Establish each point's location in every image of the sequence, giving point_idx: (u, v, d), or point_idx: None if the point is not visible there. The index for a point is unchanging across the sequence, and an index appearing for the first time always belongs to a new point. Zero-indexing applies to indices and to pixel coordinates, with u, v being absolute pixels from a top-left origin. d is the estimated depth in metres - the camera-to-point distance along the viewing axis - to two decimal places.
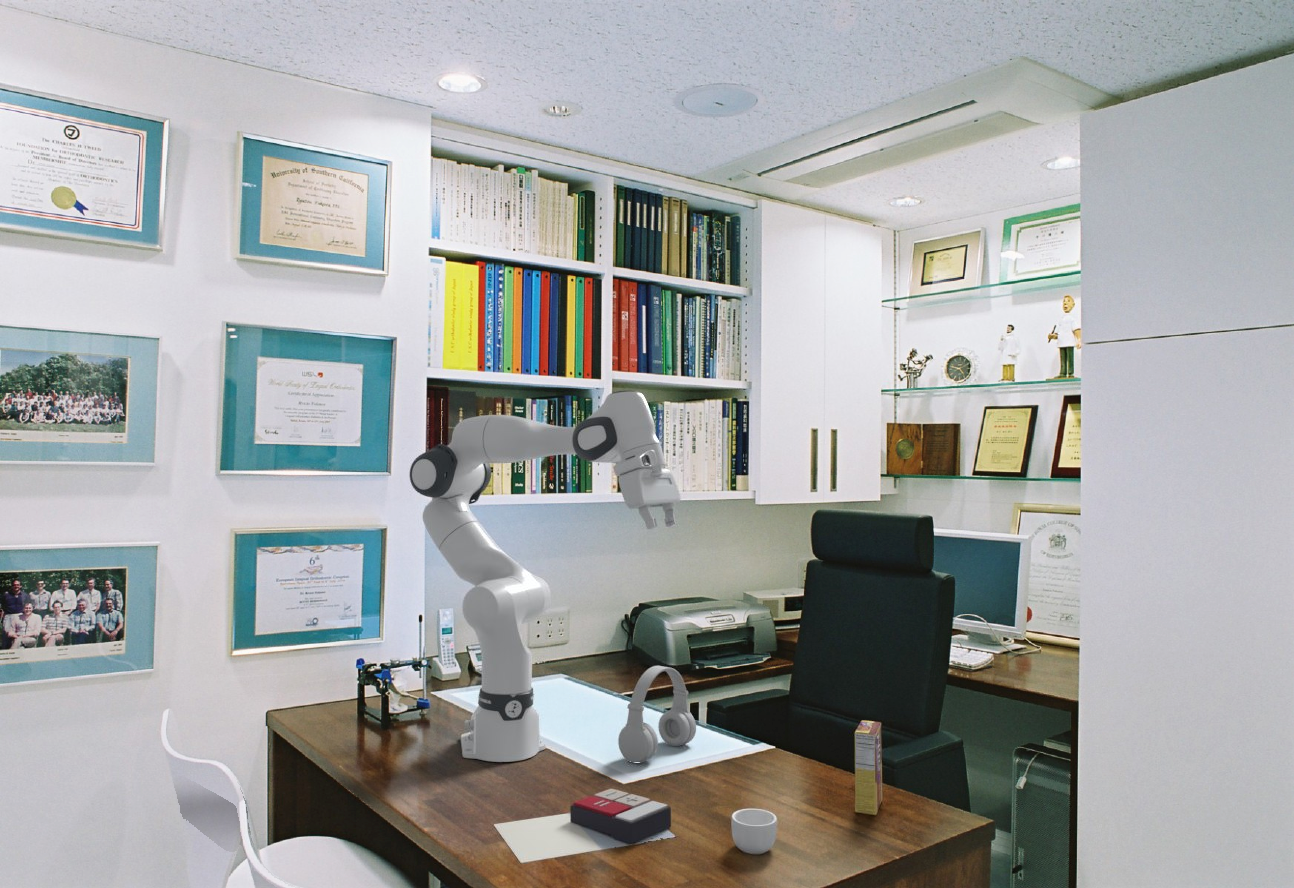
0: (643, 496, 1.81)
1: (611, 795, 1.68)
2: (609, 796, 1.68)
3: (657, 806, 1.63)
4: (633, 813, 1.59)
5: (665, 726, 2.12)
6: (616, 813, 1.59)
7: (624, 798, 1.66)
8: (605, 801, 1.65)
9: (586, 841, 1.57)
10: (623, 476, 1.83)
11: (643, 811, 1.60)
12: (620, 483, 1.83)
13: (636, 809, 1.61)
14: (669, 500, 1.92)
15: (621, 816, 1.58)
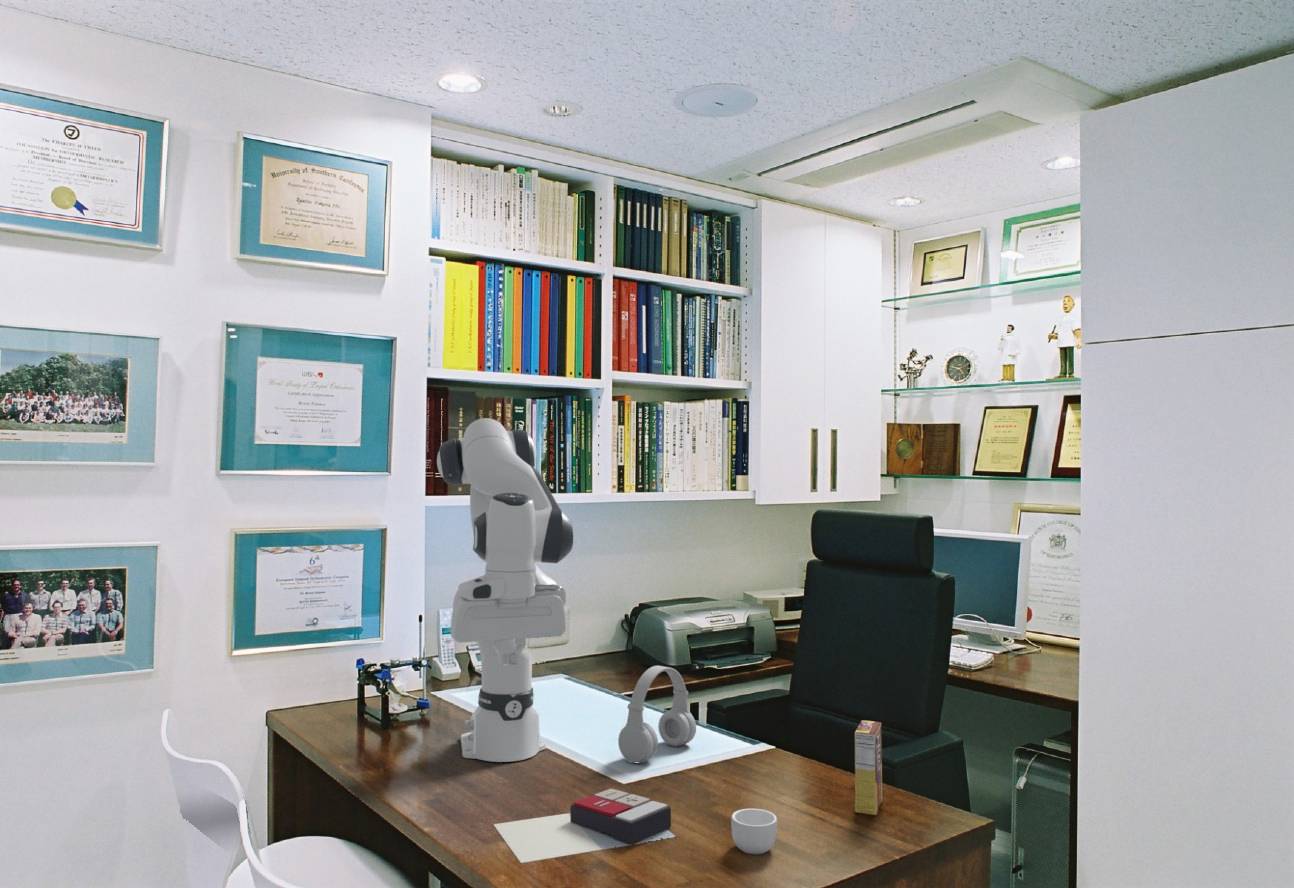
0: (462, 633, 1.56)
1: (611, 795, 1.68)
2: (609, 796, 1.68)
3: (657, 806, 1.63)
4: (633, 813, 1.59)
5: (665, 726, 2.12)
6: (616, 813, 1.59)
7: (624, 798, 1.66)
8: (605, 801, 1.65)
9: (586, 841, 1.57)
10: (458, 601, 1.59)
11: (643, 811, 1.60)
12: (453, 607, 1.59)
13: (636, 809, 1.61)
14: (530, 635, 1.61)
15: (621, 816, 1.58)
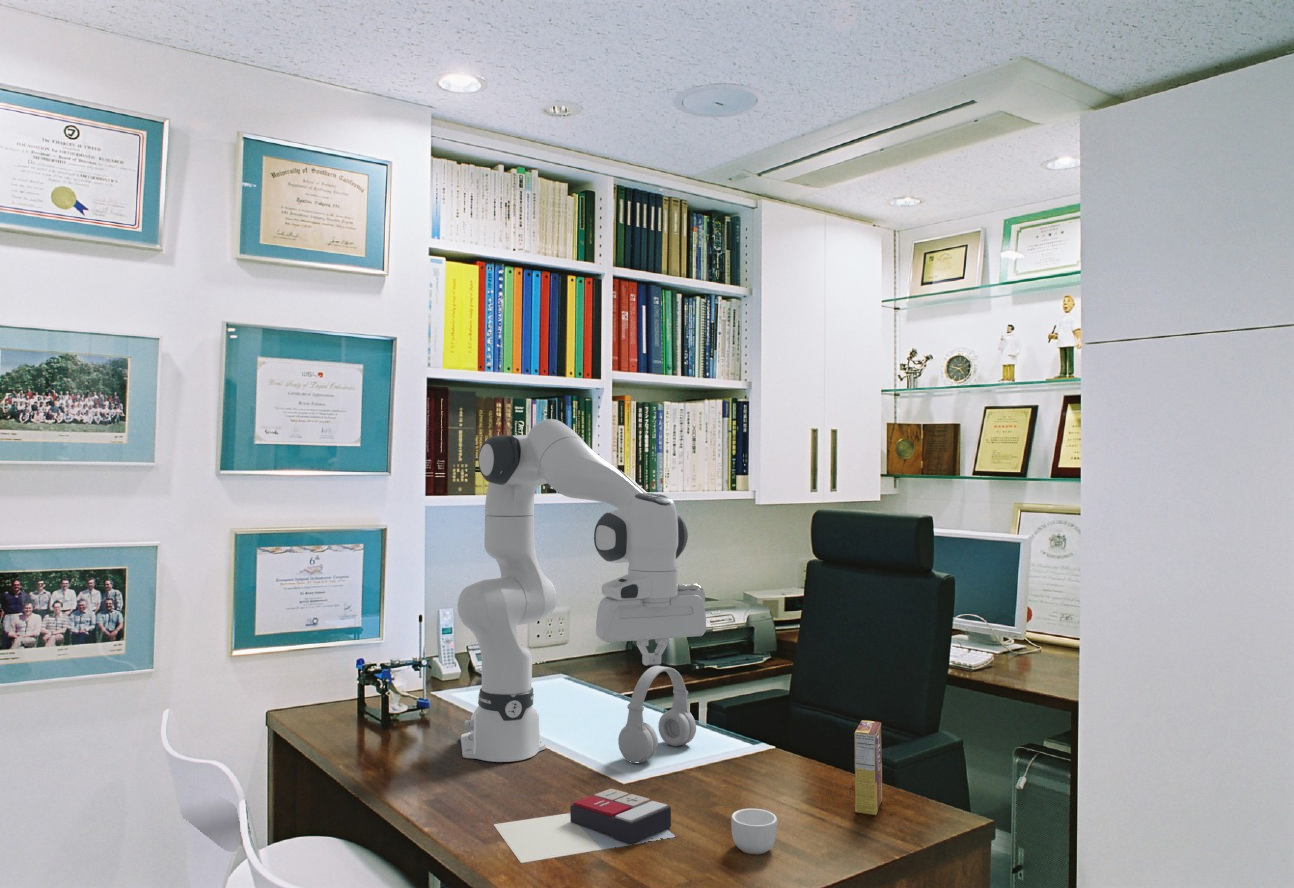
0: (609, 633, 1.56)
1: (611, 795, 1.68)
2: (609, 796, 1.68)
3: (657, 806, 1.63)
4: (633, 813, 1.59)
5: (665, 726, 2.12)
6: (616, 813, 1.59)
7: (624, 798, 1.66)
8: (605, 801, 1.65)
9: (586, 841, 1.57)
10: (603, 601, 1.59)
11: (643, 811, 1.60)
12: (598, 607, 1.59)
13: (636, 809, 1.61)
14: (673, 635, 1.61)
15: (621, 816, 1.58)
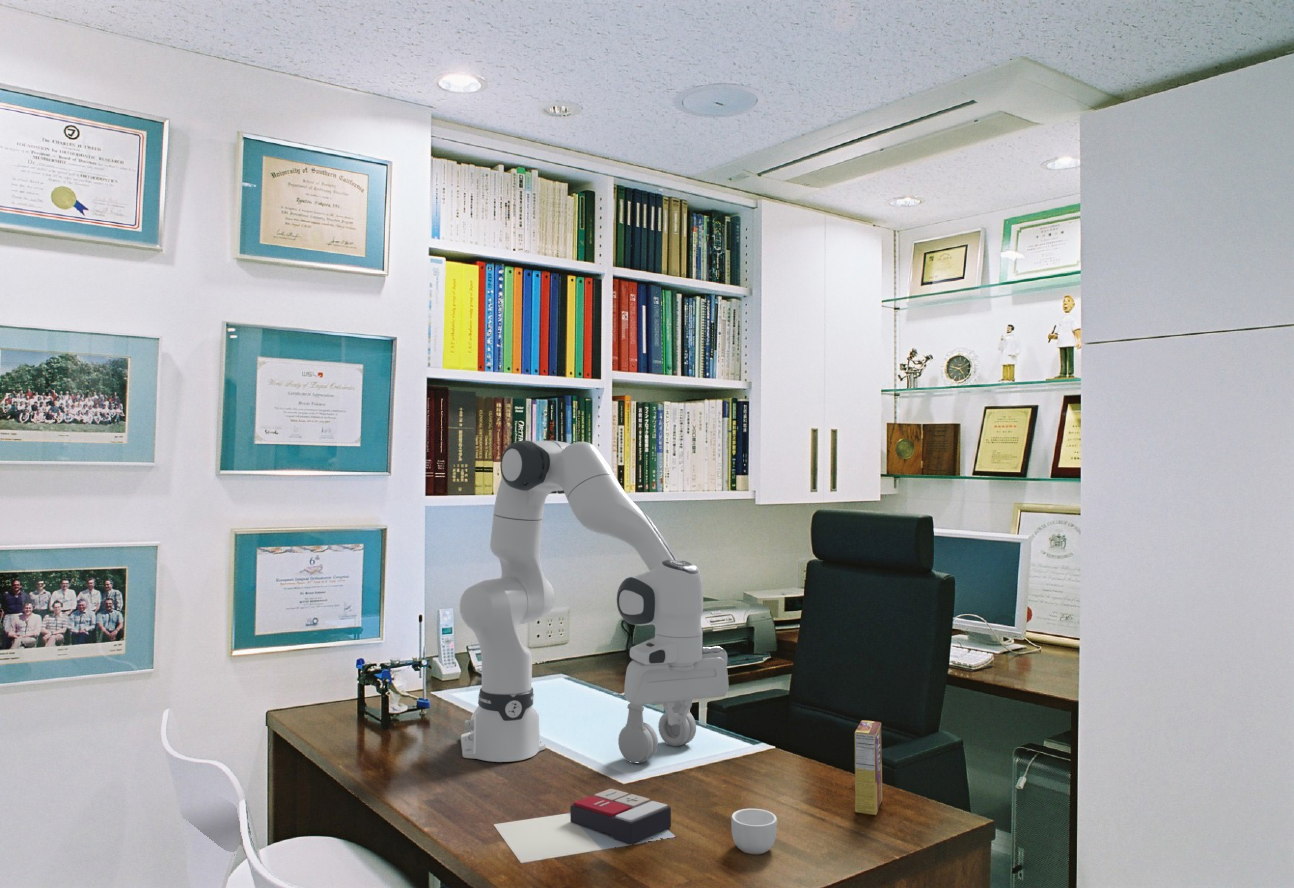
0: (638, 696, 1.64)
1: (611, 795, 1.68)
2: (609, 796, 1.68)
3: (657, 806, 1.63)
4: (633, 813, 1.59)
5: (665, 726, 2.12)
6: (616, 813, 1.59)
7: (624, 798, 1.66)
8: (605, 801, 1.65)
9: (586, 841, 1.57)
10: (631, 664, 1.67)
11: (643, 811, 1.60)
12: None
13: (636, 809, 1.61)
14: (697, 696, 1.69)
15: (621, 816, 1.58)
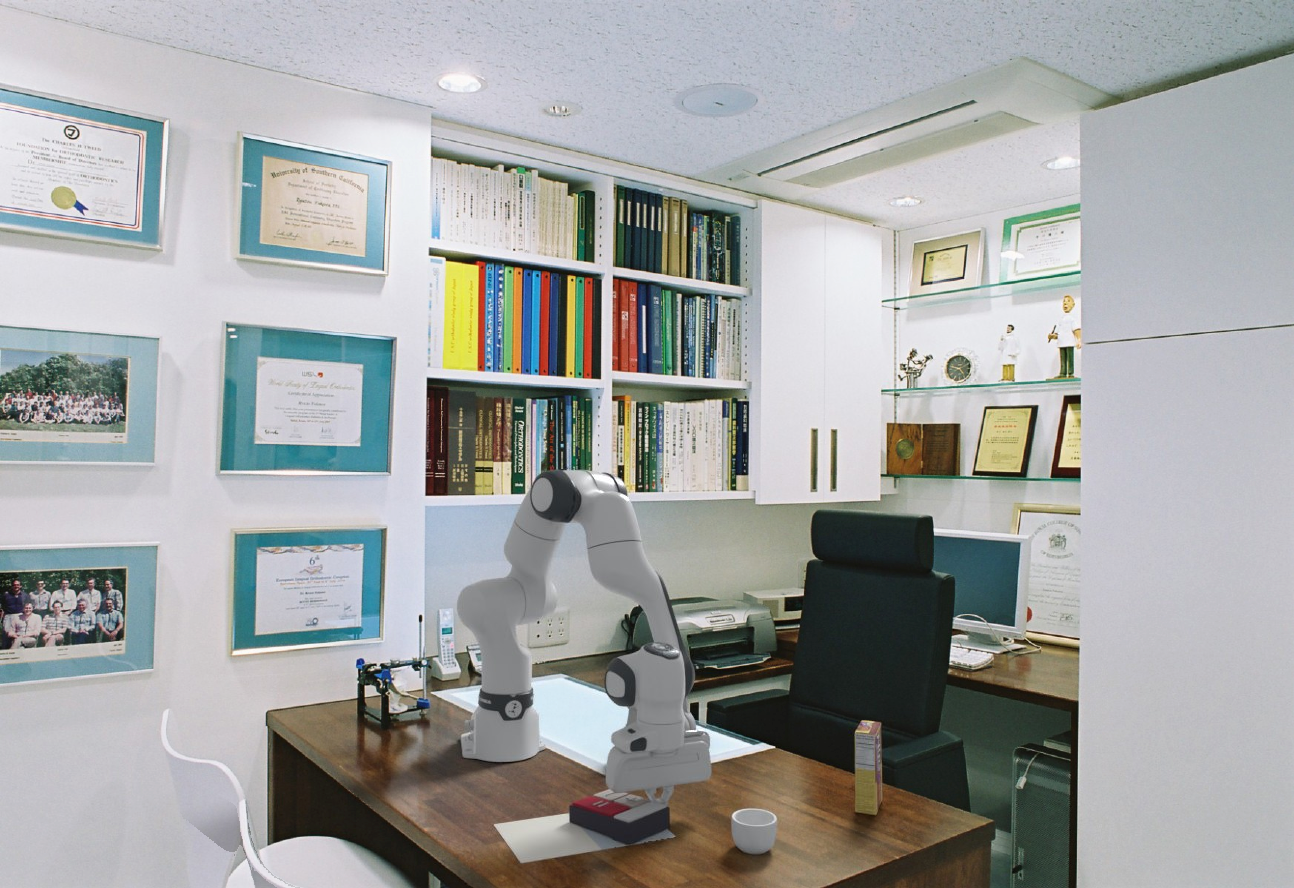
0: (619, 785, 1.62)
1: (610, 795, 1.68)
2: (608, 796, 1.68)
3: (655, 807, 1.62)
4: (632, 813, 1.59)
5: None
6: (615, 813, 1.59)
7: (623, 799, 1.66)
8: (604, 801, 1.65)
9: (586, 841, 1.57)
10: (613, 751, 1.65)
11: (642, 811, 1.60)
12: (608, 757, 1.65)
13: (635, 809, 1.61)
14: (680, 782, 1.67)
15: (619, 816, 1.58)
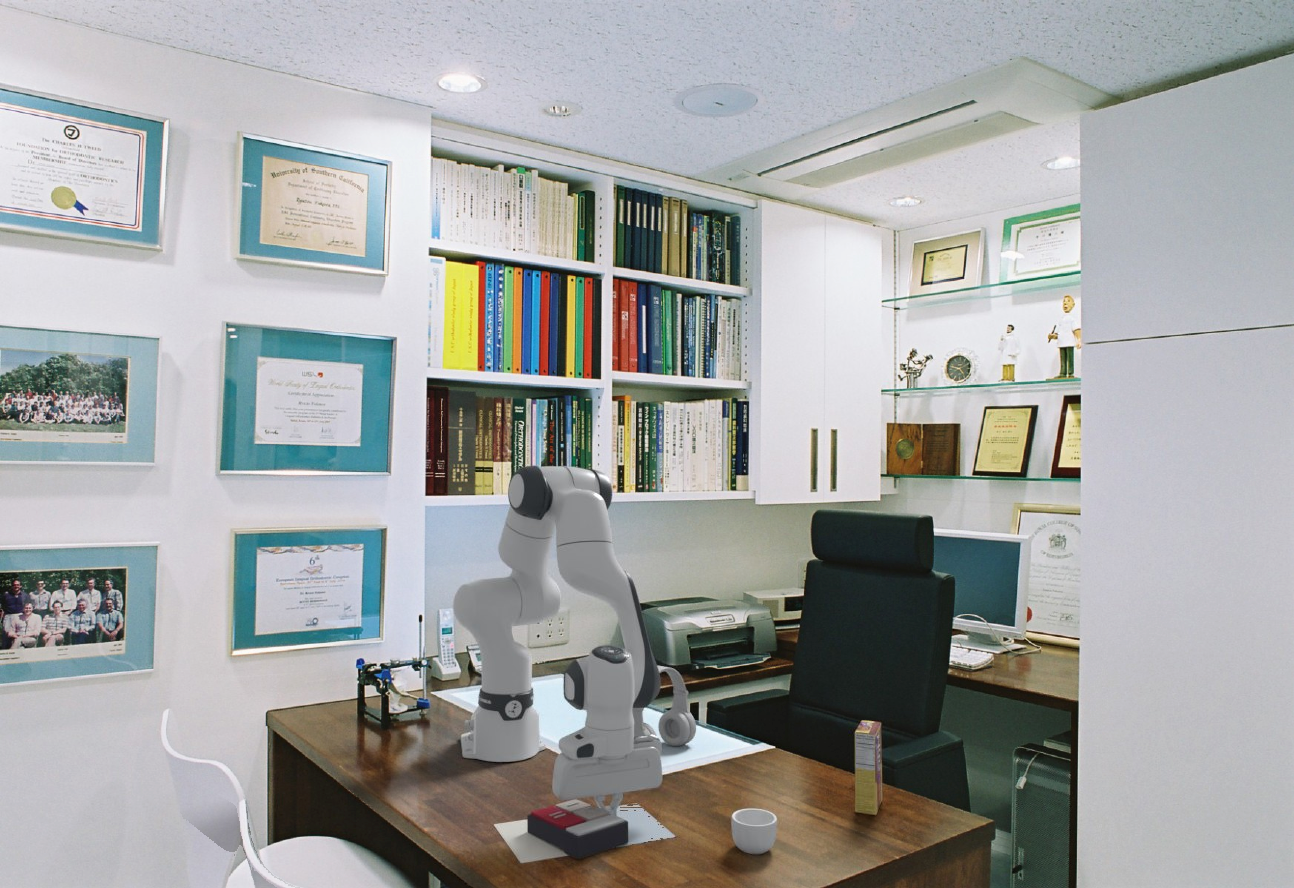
0: (565, 792, 1.58)
1: (572, 806, 1.63)
2: (569, 807, 1.62)
3: (613, 820, 1.56)
4: (585, 826, 1.53)
5: (665, 726, 2.12)
6: (568, 826, 1.53)
7: (583, 810, 1.60)
8: (562, 812, 1.59)
9: None
10: (559, 757, 1.61)
11: (596, 825, 1.54)
12: (555, 763, 1.61)
13: (590, 822, 1.55)
14: (629, 789, 1.63)
15: (571, 829, 1.52)
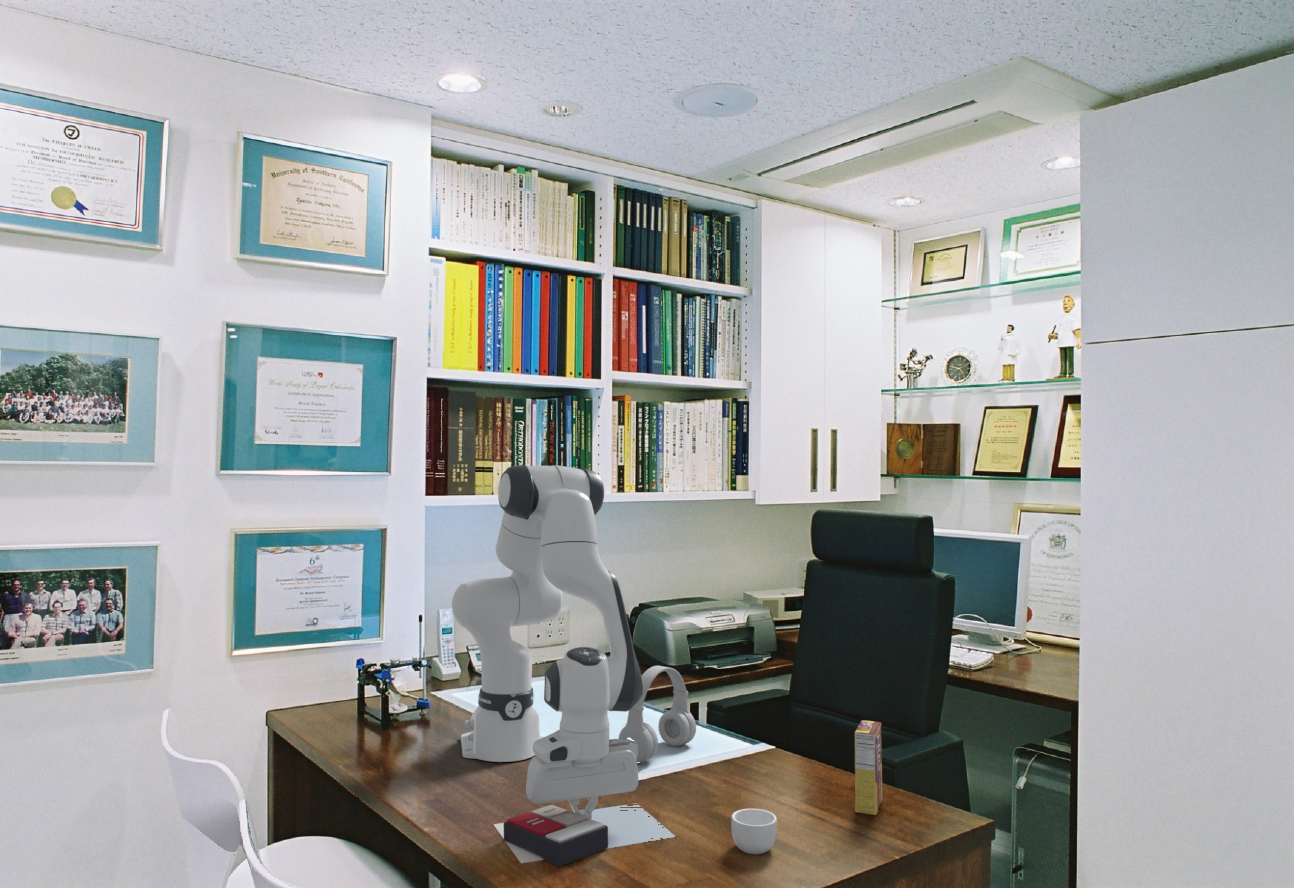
0: (538, 796, 1.56)
1: (549, 812, 1.60)
2: (546, 813, 1.59)
3: (592, 826, 1.53)
4: (565, 833, 1.50)
5: (665, 726, 2.12)
6: (547, 832, 1.50)
7: (561, 816, 1.57)
8: (540, 819, 1.56)
9: None
10: (533, 760, 1.59)
11: (576, 831, 1.51)
12: None
13: (570, 828, 1.52)
14: (604, 793, 1.61)
15: (551, 836, 1.49)
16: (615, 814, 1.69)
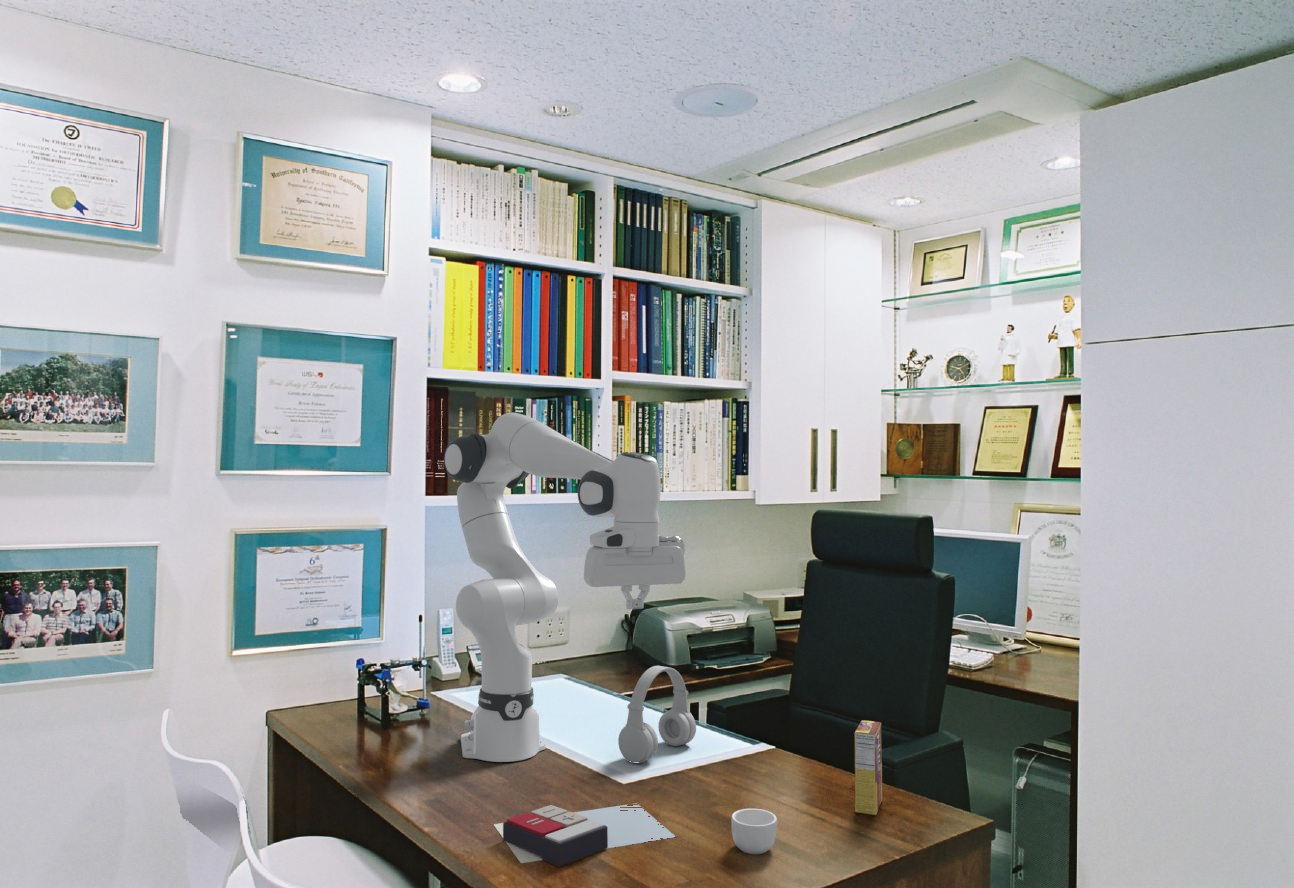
0: (596, 578, 1.70)
1: (548, 812, 1.60)
2: (546, 813, 1.59)
3: (592, 826, 1.53)
4: (564, 833, 1.50)
5: (665, 726, 2.12)
6: (547, 832, 1.50)
7: (561, 816, 1.57)
8: (539, 819, 1.56)
9: None
10: (590, 549, 1.73)
11: (576, 831, 1.51)
12: (586, 555, 1.74)
13: (569, 828, 1.52)
14: (655, 582, 1.76)
15: (550, 836, 1.49)
16: (615, 814, 1.69)
